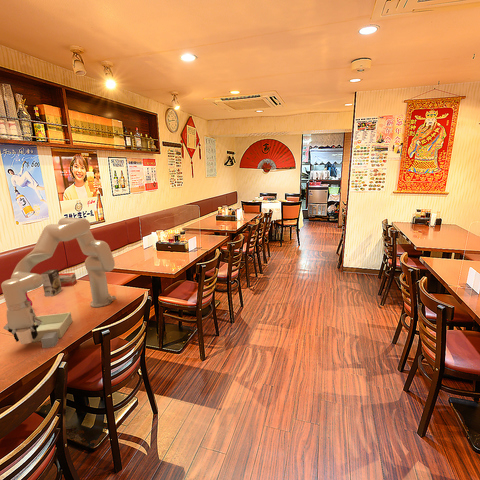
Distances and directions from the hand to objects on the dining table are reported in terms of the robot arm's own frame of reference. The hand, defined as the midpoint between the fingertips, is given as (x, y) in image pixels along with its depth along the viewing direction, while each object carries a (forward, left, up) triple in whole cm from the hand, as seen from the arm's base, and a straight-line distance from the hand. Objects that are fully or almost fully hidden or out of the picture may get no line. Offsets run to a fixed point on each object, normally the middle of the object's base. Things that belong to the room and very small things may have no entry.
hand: (26, 338), depth 135 cm
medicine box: (+11, -81, -5) cm, 82 cm away
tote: (-4, -13, -5) cm, 14 cm away
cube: (-10, 0, -5) cm, 11 cm away
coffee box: (+12, -66, -5) cm, 68 cm away
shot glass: (0, 0, -1) cm, 1 cm away
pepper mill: (+18, -41, -5) cm, 45 cm away
